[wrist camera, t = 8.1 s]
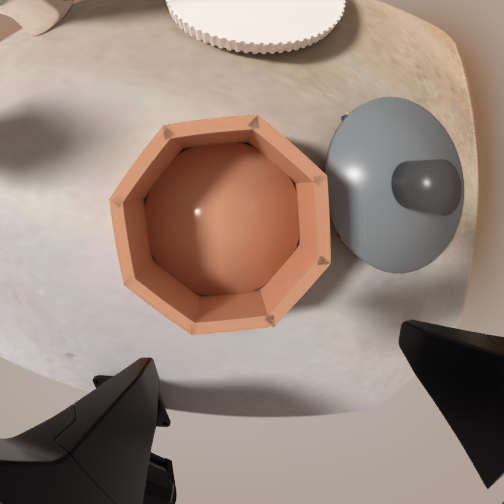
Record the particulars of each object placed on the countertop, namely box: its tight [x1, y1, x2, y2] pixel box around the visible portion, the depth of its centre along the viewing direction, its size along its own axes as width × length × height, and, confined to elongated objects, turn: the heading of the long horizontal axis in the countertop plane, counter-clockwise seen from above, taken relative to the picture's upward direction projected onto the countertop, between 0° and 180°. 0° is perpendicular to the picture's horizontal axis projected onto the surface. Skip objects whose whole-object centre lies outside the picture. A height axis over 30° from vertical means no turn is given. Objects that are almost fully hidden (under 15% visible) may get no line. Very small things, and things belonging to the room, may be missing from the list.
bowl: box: [109, 115, 331, 335], centre depth 17 cm, size 12×12×4 cm
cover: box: [325, 97, 464, 273], centre depth 16 cm, size 14×14×5 cm
